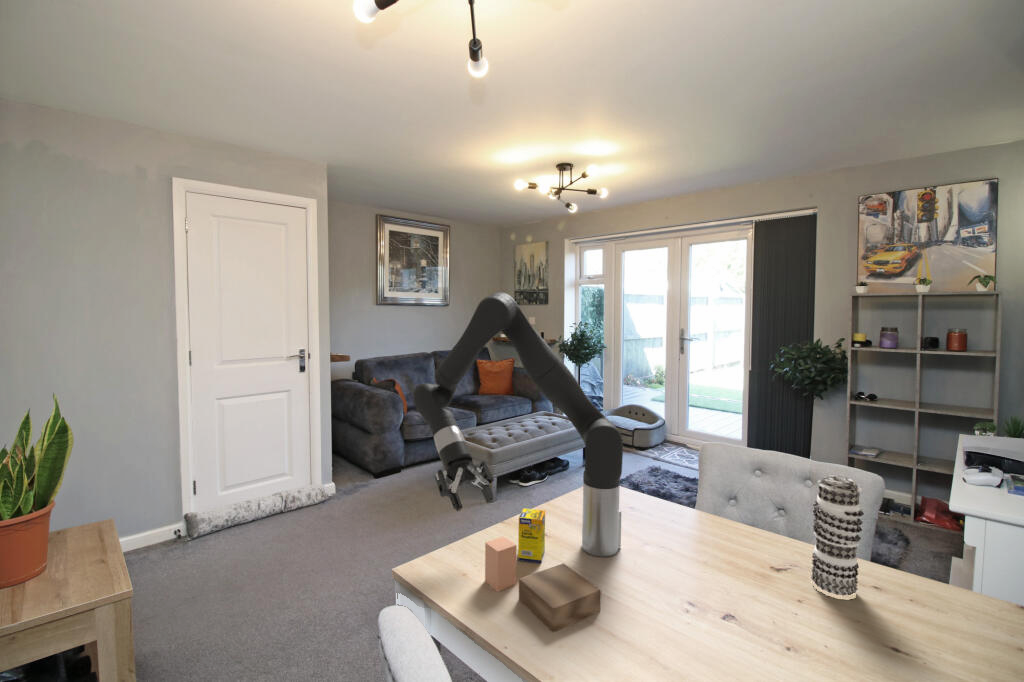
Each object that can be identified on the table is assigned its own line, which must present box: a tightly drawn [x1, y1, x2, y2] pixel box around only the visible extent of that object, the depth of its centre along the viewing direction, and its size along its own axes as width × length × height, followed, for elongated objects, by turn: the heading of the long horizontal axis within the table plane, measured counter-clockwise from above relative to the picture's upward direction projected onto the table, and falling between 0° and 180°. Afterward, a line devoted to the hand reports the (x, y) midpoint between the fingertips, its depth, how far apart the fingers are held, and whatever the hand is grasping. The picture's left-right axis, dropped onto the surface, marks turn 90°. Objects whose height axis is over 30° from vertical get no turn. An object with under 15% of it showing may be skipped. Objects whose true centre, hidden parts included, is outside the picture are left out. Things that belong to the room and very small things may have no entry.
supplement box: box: [517, 508, 546, 564], centre depth 119 cm, size 6×6×11 cm
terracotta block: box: [484, 535, 517, 592], centre depth 108 cm, size 5×5×9 cm
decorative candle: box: [810, 475, 865, 596], centre depth 106 cm, size 9×9×25 cm
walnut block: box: [518, 563, 602, 633], centre depth 99 cm, size 12×12×5 cm
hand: (475, 505), depth 116 cm, fingers open, 8 cm apart
